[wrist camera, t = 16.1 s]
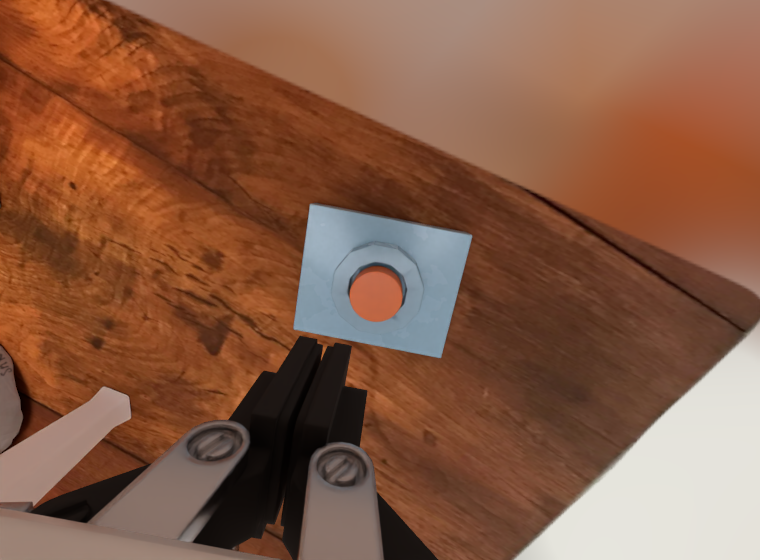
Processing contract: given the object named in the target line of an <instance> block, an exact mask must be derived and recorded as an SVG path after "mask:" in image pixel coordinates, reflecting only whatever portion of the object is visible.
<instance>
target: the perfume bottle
mask: <svg viewBox="0 0 760 560" xmlns="http://www.w3.org/2000/svg"><path fill="white" fill-rule="evenodd" d="M129 419H131V410H130V400H129V396H127V395H125V394H123V393H120V392H118V391H115V390H113V389H110V388H108V387H102V388H101V389H100V390H99V391H98V392H97V394H96V395H95V396H94V397H93V398H92V399H91V400H90V401H89V402H87V403H85V404H84V405H82V406H80V407H79V408H77V409H75V410H74V411H72V412H70V413H69V414H67V415H65V416H64V417H62V418H60V419H59V420H57V421H55V422H54V423H52V424H50V425H49V426H47V427H45V428H44V429H42V430H40V431H39V432H37V433H35V434H34V435H32V436H30V437H29V438H27V439H25V440H24V441H22V442H20V443H19V444H17V445H15V446H14V447H12V448H10V449H9V450H7V451H5V452H4V453H2V454H0V502H33V506H34V505H35V504H36V503H37V502H38V501H39V500H40V499H41V498H42V497H43V496H44V495H45V494H46V493H47V492H48V491H49V490H50V489H51V488H52V487H53V486H54V485H55V484H57V483H58V482H59V481H60V480H61V479H62V478H63V477H64V476H65V475H66V474H67V473H68V472H69V471H70V470H71V469H72V468H73V467H74V466H75V465H76V464H77V463H78V462H79V461H80V460H81V459H82V458H83V457H84V456H85V455H86V454H87V453H88V452H89V451H90V450H91V449H92V448H93V447H94V446H95V445H96V444H97V443H98V442H99V441H100V440H102V439H103V438H104V437H105V436H106V435H107V434H108V433H109V432H110V431H111V430H112V429H113V428H114V427H116V426H118V425H120V424H122V423H123V422H125V421H127V420H129Z"/></svg>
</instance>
